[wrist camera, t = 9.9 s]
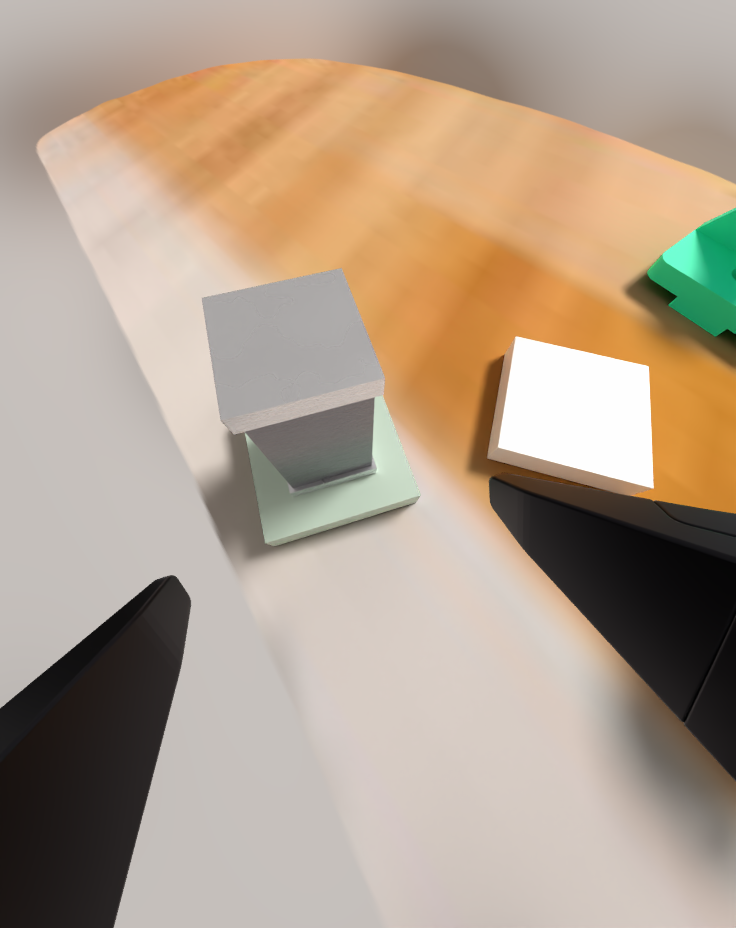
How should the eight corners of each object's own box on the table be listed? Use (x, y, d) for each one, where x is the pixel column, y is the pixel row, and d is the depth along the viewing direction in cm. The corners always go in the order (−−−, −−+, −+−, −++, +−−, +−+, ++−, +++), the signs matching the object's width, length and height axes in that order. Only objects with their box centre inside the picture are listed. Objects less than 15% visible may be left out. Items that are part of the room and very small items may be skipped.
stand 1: (415, 502, 21) (420, 495, 19) (274, 546, 20) (265, 543, 18) (372, 387, 24) (373, 371, 22) (250, 419, 23) (239, 405, 21)
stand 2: (627, 496, 21) (653, 488, 19) (486, 458, 22) (497, 447, 20) (626, 382, 24) (648, 366, 22) (504, 353, 25) (515, 336, 23)
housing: (376, 473, 19) (384, 378, 10) (293, 497, 19) (220, 420, 9) (352, 403, 21) (341, 268, 12) (277, 423, 21) (201, 298, 11)
